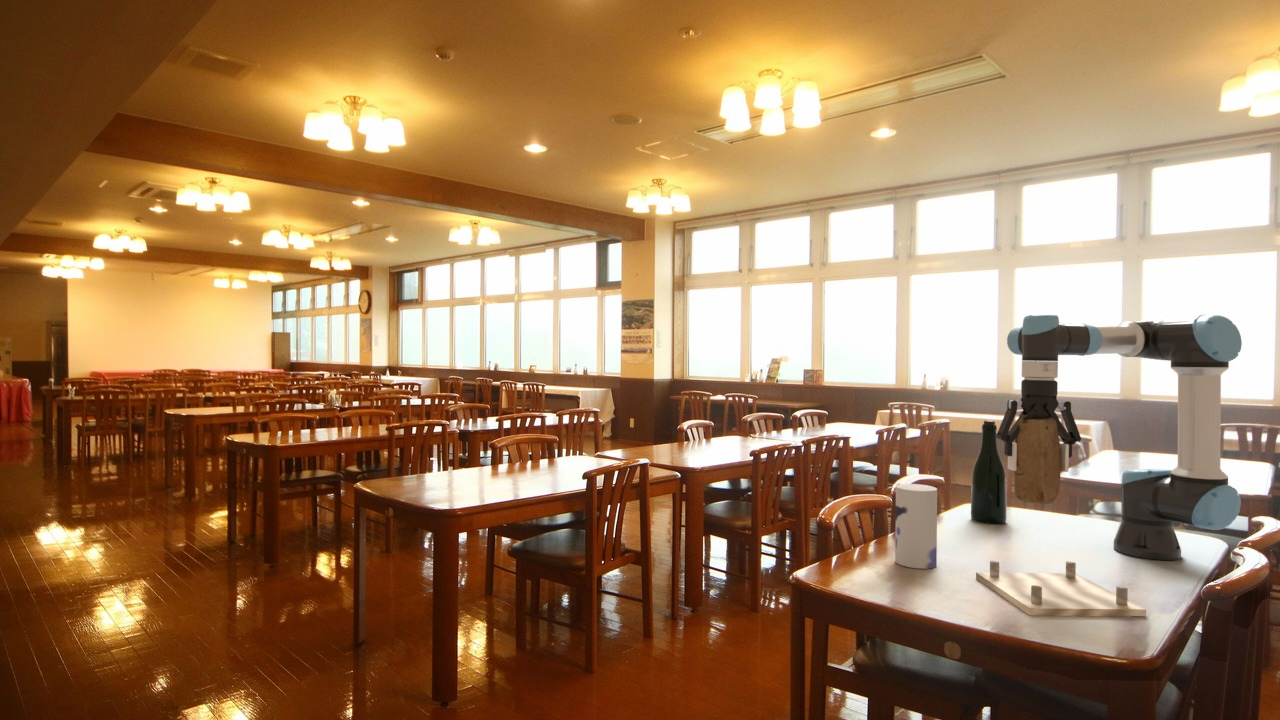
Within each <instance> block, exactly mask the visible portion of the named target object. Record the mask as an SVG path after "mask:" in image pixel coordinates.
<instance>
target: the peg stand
mask: <svg viewBox="0 0 1280 720" xmlns="http://www.w3.org/2000/svg"><path fill="white" fill-rule="evenodd" d="M1076 566H1077V565H1076V562H1074V561H1069V560H1068V561H1065V573H1063V572H1062V573H1061V572H1000V561H997V560H990V561H989V572H978V571H977V572H975V579H976V580H977V581H978V582H980V583H982V584H983V585H984V586H986V587H988V588H989V589H991V590H992V591H993V592H995V593H997V595H998V596H1001V597H1002V598H1004V599H1005V600H1007V601H1008V602H1009V603H1011V604H1012V605H1014V606H1015V607H1017V608H1018V609H1020V610H1021V611H1023V612H1024V613H1026V614H1027V615H1028V616H1036V617H1037V616H1046V617H1048V616H1049V617H1050V616H1051V617H1055V616H1057V617H1059V616H1060V617H1063V616H1065V617H1131V616H1146V617H1147V608H1144V607H1143V606H1141V605H1138V604H1136V603H1134V602H1132V601H1131V600H1128V598H1129V597H1128V595H1129V594H1128V592H1129V591H1128V587H1126V586H1121V585H1119V586H1117V585H1116V586H1115V588H1116V589H1115V592H1116V593H1115V592H1113V591H1111V590H1109V589H1107V588H1105V587H1103V586H1101V585H1099V584H1097V583H1095V582H1093V581H1091V580H1089V579H1088V578H1085V577H1084V576H1081V575H1080V574H1077V573H1076V572H1077V571H1076V570H1077V569H1076V568H1077V567H1076Z"/></svg>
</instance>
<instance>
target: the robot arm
mask: <svg viewBox="0 0 1280 720" xmlns="http://www.w3.org/2000/svg"><path fill="white" fill-rule="evenodd" d="M1242 342H1243V341H1242V336H1241V333H1240V330H1239V329H1238V327H1237V325H1236V324H1235V323H1233V321H1232V320H1231V319H1229V318H1228V317H1226V316H1223V315H1217V314H1216V315H1214V314H1198V315H1183V316H1166V317H1165V316H1164V317H1158V318H1149V319H1144V320H1137V321H1124V322H1121V323H1120V324H1118V325H1091V324H1087V323H1082V324H1081V323H1080V324H1079V323H1060V318H1059V316H1058V314H1049V313H1048V314H1047V313H1046V314H1045V313H1044V314H1028V315H1026V316H1024V317H1023V320H1022V326H1018V327H1017V326H1016V327H1014V328H1012V329H1011V330H1010V331H1009V333H1008V335H1007V338H1006V344H1007V347H1008V349H1009V351H1010V352H1011V353H1013V354H1015V355H1017V356H1018V355H1019V356H1021V378H1024V379H1022V380H1021V381H1020V382H1021V385H1020V387H1021V388H1020V389H1021V391H1020V392H1021V399H1020V400H1012V399H1009V400H1007V402H1006V403H1007V404H1006V405H1007V407H1006V411H1005V414H1004V416H1003V418H1002V420H1001V423H1000V425H999V428H998V429H997V431H996V438H997V440H1001V441H1003V442H1004V444H1003V445H1004V450H1003V451H1004V453H1003V454H1004V455H1005V456H1006V457H1007V470H1010V471H1013V472H1014V471H1016V462H1017V443H1015V439H1016V437H1017V436H1018V435H1019V432H1020V428H1019V425H1018V426H1017V422H1018V421H1019V420H1020V419H1022V420H1026V419H1032V418H1047V419H1048V418H1053V419H1055V420H1056V422H1057V431H1058V435H1059V439H1060V440H1061V442H1060V453H1061V471H1060V472H1064V473H1069V463H1070V462H1069V461H1070V460H1069V458H1072V457H1073V445H1075V444H1076V443H1077V442H1081V441H1082V437H1081V434H1080V431H1079V429H1078V426H1077V424H1076V420H1075V418H1074V415H1073V413H1072V402H1071V401H1069V400H1068V401H1067V400H1061V401H1059V400H1058V399H1057V396H1058V388H1059V387H1058V386H1059V385H1058V382H1057V380H1055V379H1057V378H1058V373H1059V371H1058V370H1059V369H1058V368H1059V367H1058V366H1059V365H1058V364H1059V362H1058V361H1059V356H1080V357H1081V356H1082V357H1084V356H1092V355H1099V354H1100V355H1103V354H1105V355H1106V354H1110V355H1111V354H1115V355H1116V354H1118V355H1119V356H1121V357H1124V358H1140V359H1148V360H1149V359H1150V360H1158V361H1169V362H1170V369H1171V370H1173V371H1174V372H1175V373H1176V374H1177V466H1176V467H1175V468H1173V469H1165V468H1162V469H1161V468H1156V469H1155V468H1153V469H1152V468H1149V469H1148V468H1142V469H1141V468H1140V469H1137V468H1135V469H1127V470H1125V471H1124V472H1123V473H1122V476H1121V483H1120V486H1121V487H1120V490H1121V492H1120V493H1121V497H1120V498H1121V499H1120V500H1121V501H1120V502H1121V503H1120V504H1121V507H1120V509H1121V512H1120V513H1121V516H1120V517H1121V519H1120V524H1119V527H1118V529H1117V532H1116V533H1115V537H1114V538H1113V550H1115V551H1117V552H1119V553H1121V554H1125V555H1128V556H1132V557H1136V558H1142V559H1147V560H1148V559H1149V560H1158V561H1176V560H1180V559H1182V548H1181V545H1180V542H1179V539H1178V537H1177V534H1176V531H1175V530H1174V529H1175V528H1174V522H1176V523H1180V524H1184V525H1188V526H1193V527H1195V528H1198V529H1206V530H1207V529H1208V530H1213V531H1219V530H1223V529H1225V528H1227V527H1229V526H1230V525H1232V523H1233V522H1234V521H1235V520H1236V518H1237V517H1238V515H1239V513H1240V510H1241V506H1242V505H1241V503H1242V501H1241V495H1240V494H1239V492H1238V490H1237V489H1236V488H1235V487H1233V486H1232V485H1229V476H1228V475H1227V474H1226V473H1225V472H1223V470H1222V469H1221V432H1222V431H1221V430H1222V429H1221V428H1222V427H1221V426H1222V425H1221V421H1222V419H1221V418H1222V417H1221V416H1222V415H1221V414H1222V412H1221V407H1222V405H1221V403H1222V402H1221V399H1222V398H1221V397H1222V396H1221V393H1222V388H1221V387H1222V386H1221V384H1222V382H1221V381H1222V379H1221V378H1222V375H1223V374H1224V373H1225V372H1226V371H1227V370H1229V368H1230V366H1229V365H1230V362H1232V361H1233V360H1236V359H1237V357H1238V356H1239V353H1240V352H1241V350H1242V345H1243V343H1242ZM1020 407H1021V409H1022V411H1021V412H1020V413H1019V416H1018V418H1017V420H1016V421H1015V417H1016V415H1017V412H1018V410H1019V409H1020ZM1057 409H1058V410H1060V414H1061V417H1062V420H1063V422H1064V425H1065V426H1064V425H1063V423H1062V421H1061V420H1060V419H1059V416H1058V415H1057V412H1055V411H1056V410H1057ZM1014 421H1015V422H1014ZM1013 422H1014V424H1013Z"/></svg>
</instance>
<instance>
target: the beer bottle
mask: <svg viewBox="0 0 1280 720" xmlns="http://www.w3.org/2000/svg"><path fill="white" fill-rule="evenodd" d="M997 432H998V427H997V425H996V421H995V420H983V423H982V425H981V443H980V445H981V446H980V449H979V453H978V455H977V457H976V460H975V462H974V464H973V468H972V473H971V474H972V475H971V489H970V490H971V492H970V493H971V494H970V495H971V497H970V518H971V520H973V521H974V522H977V523H982V524H989V525H999V524H1000V525H1001V524H1002V525H1003V524H1005V523H1006V522H1007V479H1006V478H1007V475H1006V474H1007V472H1006V469H1005V465H1004V464H1003V461H1002V459H1001V455H1000V453H999V452H1000V451H999V449H998V439H997V438H996V435H997Z"/></svg>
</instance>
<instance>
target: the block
mask: <svg viewBox="0 0 1280 720" xmlns="http://www.w3.org/2000/svg"><path fill="white" fill-rule="evenodd" d="M1018 425H1019V428H1020V432H1019V435H1018V436H1017V437H1016V439H1015V440H1014V443H1017V462H1016V471H1013V484H1014V485H1013V488H1014V496H1015V498H1016V499H1018V501H1023V502H1026V503H1031V504H1032V503H1033V504H1039V505H1041V504H1044V505H1045V504H1048V505H1049V504H1052V503H1054V501H1055V500H1057V497H1058V495H1059V492H1060V487H1061V472H1062V471H1061V453H1060V443H1061V442H1060V440H1061V439H1060V437H1059V435H1058V431H1057V422H1056V420H1055V419H1053V418H1048V419H1047V418H1032V419H1026V420H1022V419H1020V420H1019V421H1018V422H1017V426H1018Z"/></svg>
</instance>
